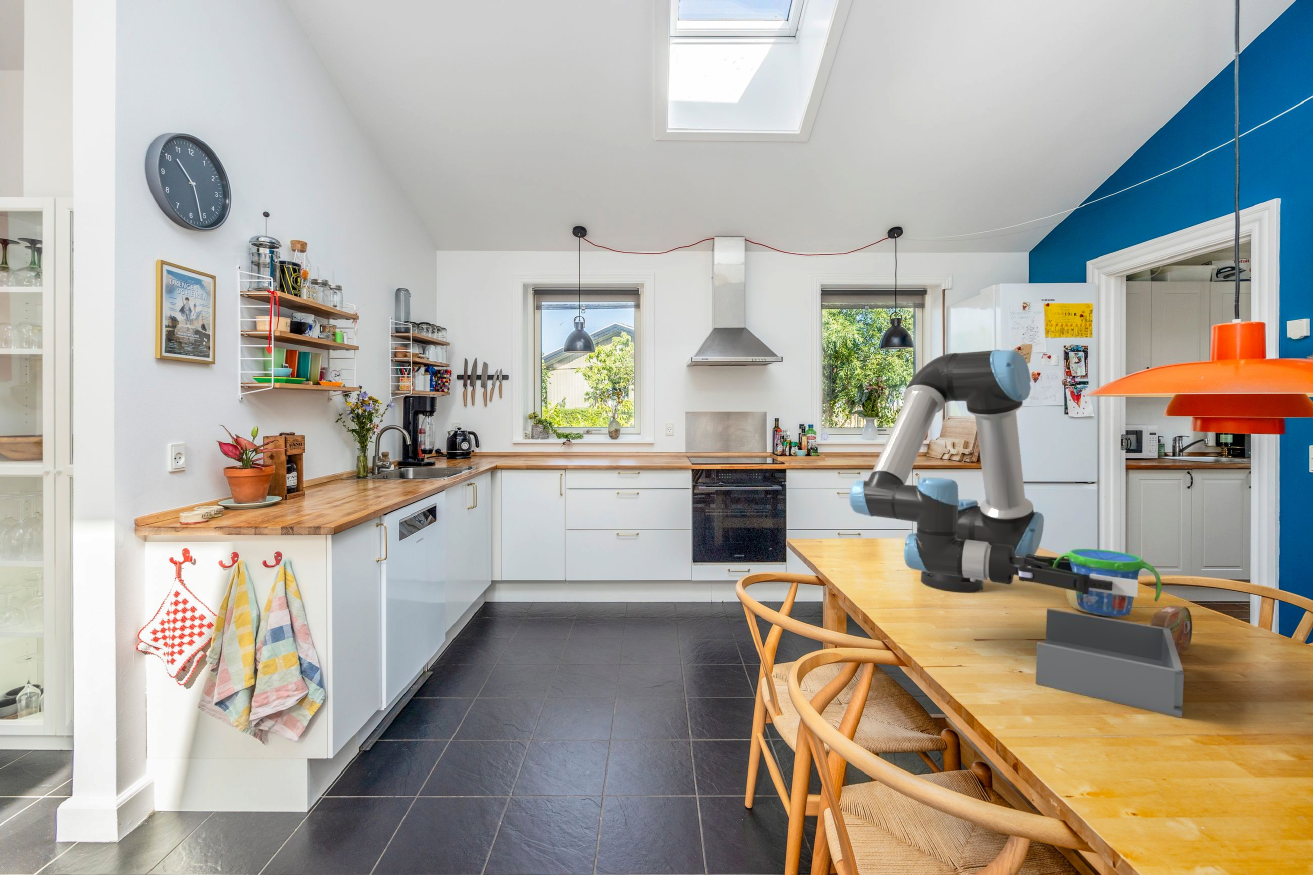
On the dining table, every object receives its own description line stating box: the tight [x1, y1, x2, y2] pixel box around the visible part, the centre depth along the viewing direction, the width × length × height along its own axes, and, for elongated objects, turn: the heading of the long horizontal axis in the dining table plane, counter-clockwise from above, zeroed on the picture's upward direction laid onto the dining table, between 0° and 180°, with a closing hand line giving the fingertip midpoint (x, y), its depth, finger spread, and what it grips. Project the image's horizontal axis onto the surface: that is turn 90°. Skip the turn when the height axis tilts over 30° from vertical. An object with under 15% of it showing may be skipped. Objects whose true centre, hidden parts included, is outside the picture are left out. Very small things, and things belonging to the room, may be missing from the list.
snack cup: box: [1053, 548, 1162, 618], centre depth 107 cm, size 16×10×10 cm
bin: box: [1035, 607, 1185, 718], centre depth 107 cm, size 24×19×7 cm
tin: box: [1149, 605, 1193, 655], centre depth 119 cm, size 15×3×8 cm, turn 123°
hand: (1136, 582), depth 104 cm, fingers closed on snack cup, 9 cm apart
